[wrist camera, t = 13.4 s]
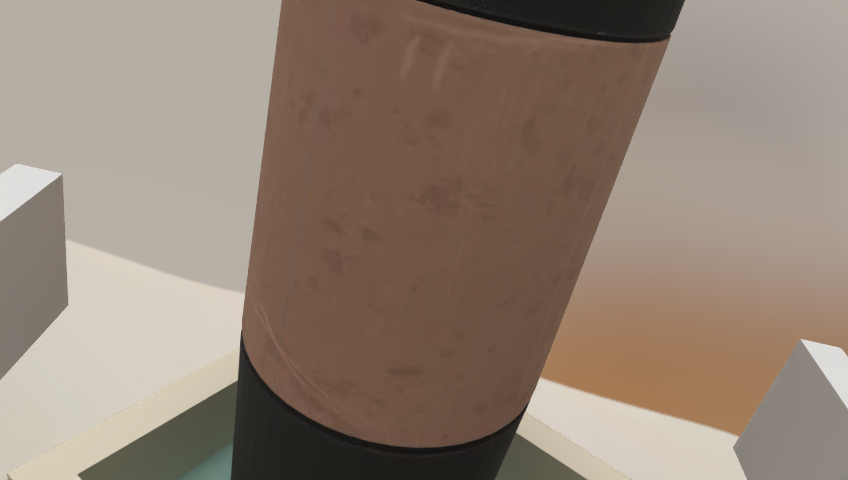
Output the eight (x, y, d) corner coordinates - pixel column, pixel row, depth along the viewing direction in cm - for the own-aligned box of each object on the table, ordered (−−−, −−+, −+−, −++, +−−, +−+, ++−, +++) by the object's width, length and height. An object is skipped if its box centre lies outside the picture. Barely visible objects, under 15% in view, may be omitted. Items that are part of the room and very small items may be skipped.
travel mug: (197, 473, 23) (256, -228, 13) (403, 435, 27) (568, -142, 17) (245, 710, 17) (408, -207, 8) (499, 622, 21) (831, -84, 11)
